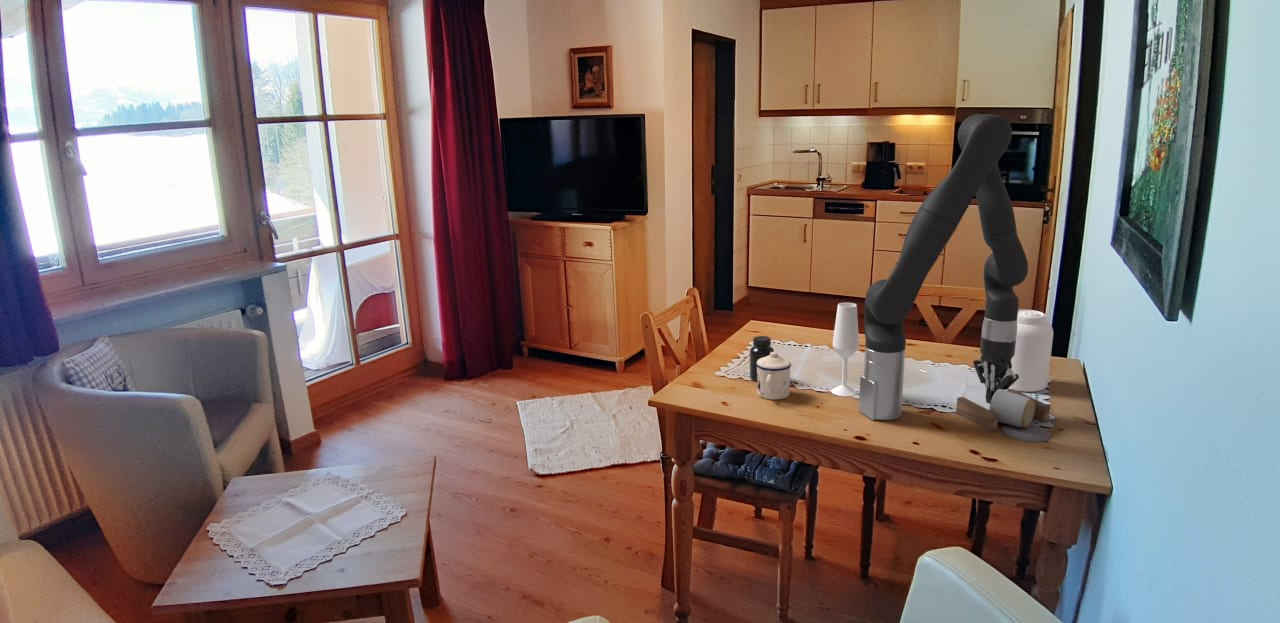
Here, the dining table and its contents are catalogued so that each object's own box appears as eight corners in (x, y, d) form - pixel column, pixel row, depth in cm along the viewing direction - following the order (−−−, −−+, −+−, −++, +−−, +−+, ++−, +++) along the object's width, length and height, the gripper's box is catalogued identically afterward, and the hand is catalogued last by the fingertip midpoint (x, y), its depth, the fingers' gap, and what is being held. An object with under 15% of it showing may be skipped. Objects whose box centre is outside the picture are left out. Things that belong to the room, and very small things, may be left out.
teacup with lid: (759, 386, 204) (760, 346, 201) (793, 389, 201) (793, 348, 198) (750, 402, 194) (750, 360, 191) (785, 406, 190) (786, 363, 187)
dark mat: (1024, 444, 164) (1024, 444, 164) (992, 427, 174) (992, 426, 174) (1061, 438, 167) (1061, 437, 167) (1027, 421, 176) (1027, 420, 176)
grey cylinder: (1023, 433, 169) (1027, 401, 167) (986, 424, 175) (989, 393, 173) (1039, 419, 177) (1043, 389, 175) (1003, 411, 182) (1006, 381, 180)
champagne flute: (843, 385, 203) (846, 300, 197) (862, 392, 197) (866, 305, 191) (825, 390, 200) (828, 304, 193) (844, 398, 194) (848, 309, 188)
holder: (990, 432, 171) (992, 416, 170) (956, 412, 183) (957, 397, 182) (1048, 422, 175) (1050, 406, 174) (1011, 403, 187) (1012, 388, 186)
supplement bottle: (748, 374, 214) (748, 334, 211) (772, 374, 213) (772, 334, 210) (750, 383, 207) (751, 342, 204) (775, 382, 207) (776, 341, 204)
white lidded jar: (1053, 382, 199) (1061, 311, 194) (1038, 396, 190) (1047, 321, 185) (1004, 373, 208) (1010, 303, 202) (987, 385, 199) (994, 313, 194)
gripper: (966, 330, 182) (960, 395, 187) (1006, 345, 170) (999, 415, 175) (991, 326, 184) (984, 391, 189) (1033, 341, 172) (1025, 411, 177)
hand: (991, 403), depth 182 cm, fingers closed
